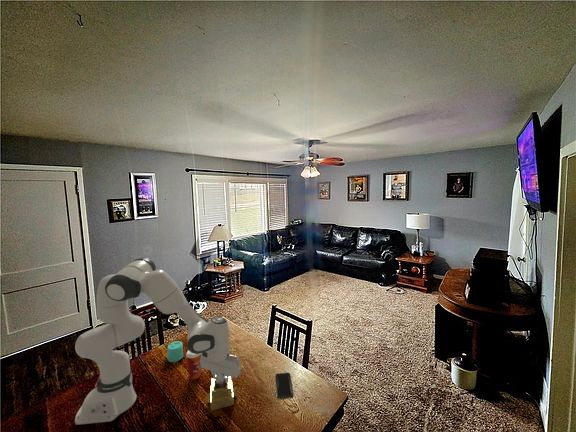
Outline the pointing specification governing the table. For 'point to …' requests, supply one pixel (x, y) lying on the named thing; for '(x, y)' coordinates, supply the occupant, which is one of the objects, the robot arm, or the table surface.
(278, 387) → the phone
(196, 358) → the paper cup
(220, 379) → the silver metal cylinder
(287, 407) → the table surface
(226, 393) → the valve body
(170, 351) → the turquoise rounded container
